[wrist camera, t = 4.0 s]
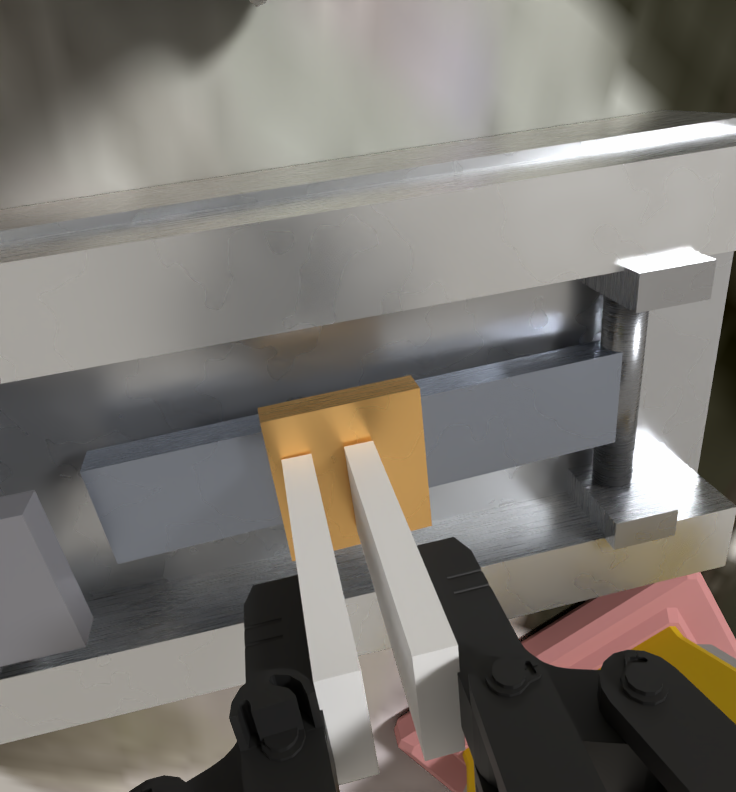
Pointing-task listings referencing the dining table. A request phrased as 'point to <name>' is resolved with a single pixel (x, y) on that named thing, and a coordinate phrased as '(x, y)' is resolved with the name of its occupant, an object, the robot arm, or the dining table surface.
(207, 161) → the dining table surface
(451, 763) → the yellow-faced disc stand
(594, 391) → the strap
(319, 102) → the dining table surface
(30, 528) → the grey slider block
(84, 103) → the dining table surface
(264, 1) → the electrical component
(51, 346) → the rail slide plate
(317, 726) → the robot arm
